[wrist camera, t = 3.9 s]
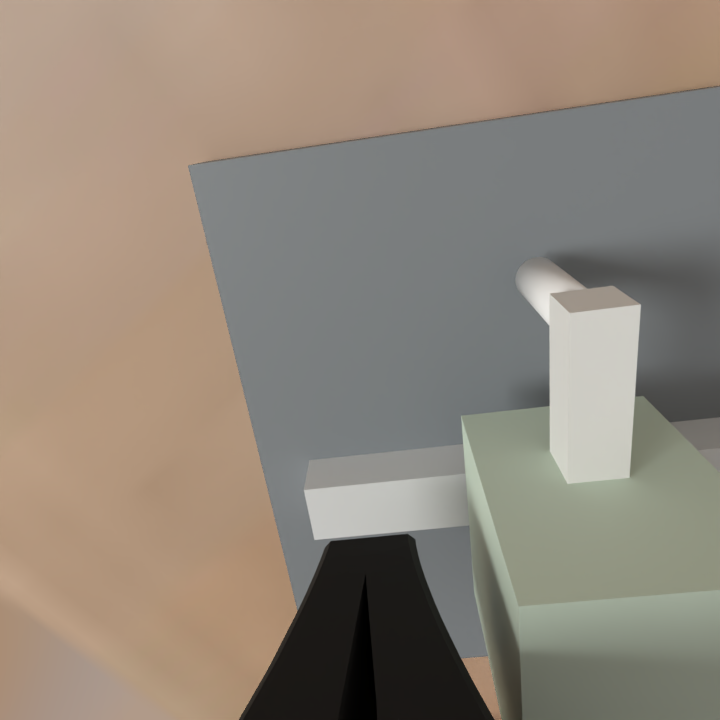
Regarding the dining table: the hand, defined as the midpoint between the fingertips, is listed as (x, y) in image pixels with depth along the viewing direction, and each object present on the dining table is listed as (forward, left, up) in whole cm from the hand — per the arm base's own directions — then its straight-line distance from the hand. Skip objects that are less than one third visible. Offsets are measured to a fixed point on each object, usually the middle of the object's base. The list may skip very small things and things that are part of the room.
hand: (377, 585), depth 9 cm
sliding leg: (+1, -3, -2) cm, 4 cm away
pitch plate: (+1, -9, -4) cm, 10 cm away
